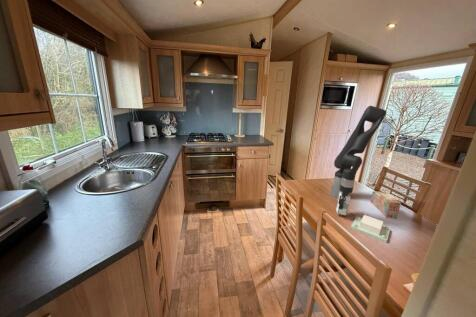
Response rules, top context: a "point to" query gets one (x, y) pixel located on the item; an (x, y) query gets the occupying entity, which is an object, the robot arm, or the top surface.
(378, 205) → the cardboard box
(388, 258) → the top surface
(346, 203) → the white tall block
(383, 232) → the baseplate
